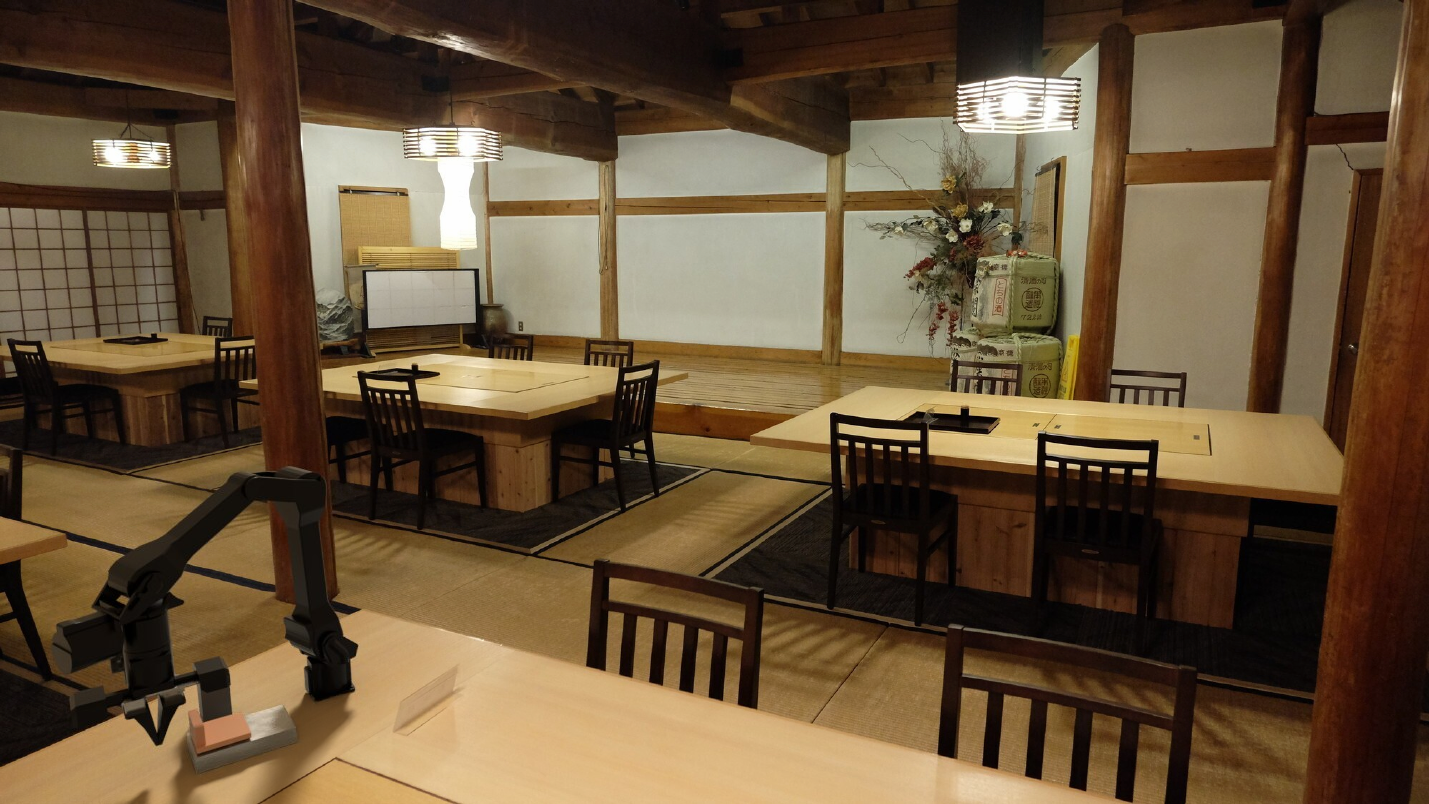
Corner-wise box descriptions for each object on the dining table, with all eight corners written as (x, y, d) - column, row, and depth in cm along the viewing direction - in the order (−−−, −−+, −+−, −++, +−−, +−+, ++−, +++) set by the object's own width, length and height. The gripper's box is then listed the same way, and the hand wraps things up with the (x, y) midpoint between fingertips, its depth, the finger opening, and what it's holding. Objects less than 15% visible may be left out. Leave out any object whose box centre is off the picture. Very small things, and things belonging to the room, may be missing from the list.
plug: (227, 707, 141) (223, 662, 140) (232, 718, 138) (228, 672, 136) (199, 715, 139) (195, 669, 137) (204, 726, 136) (199, 679, 134)
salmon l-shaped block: (241, 716, 134) (240, 695, 133) (251, 737, 128) (249, 715, 128) (189, 731, 129) (187, 709, 129) (197, 753, 124) (195, 731, 123)
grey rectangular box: (284, 718, 138) (283, 704, 138) (297, 742, 132) (296, 727, 132) (187, 747, 130) (186, 732, 129) (196, 774, 124) (195, 758, 123)
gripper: (212, 606, 133) (221, 699, 136) (61, 640, 121) (75, 740, 124) (226, 634, 124) (236, 732, 127) (65, 672, 113) (79, 779, 116)
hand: (158, 744), depth 124 cm, fingers closed
